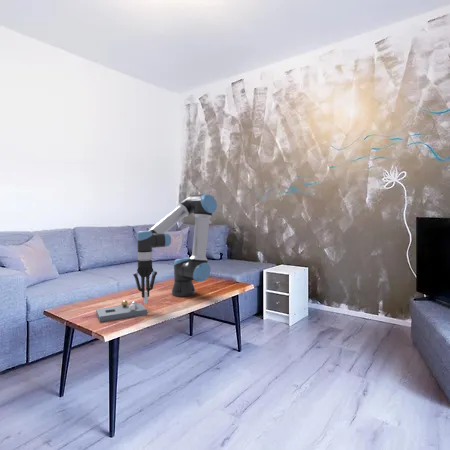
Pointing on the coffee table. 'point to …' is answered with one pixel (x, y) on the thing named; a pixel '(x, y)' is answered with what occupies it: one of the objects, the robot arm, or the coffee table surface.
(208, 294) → the coffee table surface
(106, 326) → the coffee table surface
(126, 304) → the brass ball
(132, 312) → the board
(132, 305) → the white ball
